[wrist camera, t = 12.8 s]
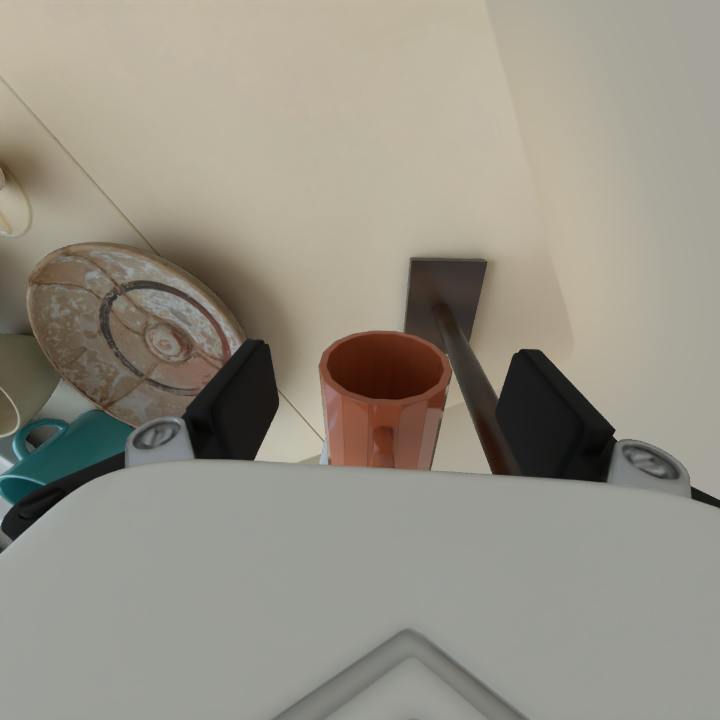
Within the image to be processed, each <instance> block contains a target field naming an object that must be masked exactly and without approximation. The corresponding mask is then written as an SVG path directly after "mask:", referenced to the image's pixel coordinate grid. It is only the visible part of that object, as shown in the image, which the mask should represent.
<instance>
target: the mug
mask: <svg viewBox="0 0 720 720" xmlns="http://www.w3.org/2000/svg"><path fill="white" fill-rule="evenodd" d="M319 375H320V385H321V395H322V406H323V416H324V426H325V436H326V446H327V456H328V465H343V466H361V467H378V468H395V469H412V470H429V471H431V467H432V462H433V458H434V453H435V449H436V444H437V440H438V435H439V430H440V426H441V421H442V417H443V412H444V407H445V403H446V398H447V394H448V389H449V384H450V380H451V375H452V369H451V366H450V363H449V360H448V357H447V356H446V355H445V354H444V353H443V352H442V351H441V350H440V349H439V348H438V347H437V346H435V345H434V344H432V343H430V342H428V341H426V340H424V339H422V338H420V337H418V336H415V335H410V334H406V333H401V332H397V331H368V332H362V333H355V334H352V335H349V336H347V337H344V338H342V339H340V340H337V341H335V342H334V343H333V344H332V345H331V346H330V347H328V348H327V349H326V350H325V351H324V352H323V354H322V357H321V360H320V364H319Z"/></svg>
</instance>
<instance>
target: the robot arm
mask: <svg viewBox="0 0 720 720" xmlns="http://www.w3.org/2000/svg"><path fill="white" fill-rule="evenodd" d="M278 406H279V397H278V392H277V386H276V381H275V375H274V370H273V364H272V359H271V353H270V348H269V345H268V344H265V343H264V341H263V340H251V339H247V340H245V342H244V343H243V344H242V345H241V346H240V347H239V348H238V349H237V351H236V352H235V353H234V354H233V355H232V356H231V357H230V359H229V360H228V361H227V362H226V363H225V364H224V365H223V367H222V368H221V369H220V370H219V371H218V372H217V373H216V375H215V376H214V377H213V378H212V379H211V380H210V381H209V383H208V384H207V385H206V386H205V387H204V388H203V389H202V390H201V392H200V393H199V394H198V395H197V396H196V397H195V398H194V400H193V401H192V402H191V403H190V404H189V405H188V406H187V408H186V412H185V413H184V414H183V416H182V417H181V418H180V417H177V416H164V417H160V418H156V419H153V420H151V421H148V422H146V423H144V424H143V425H141V426H139V427H138V428H137V429H135V430H134V431H133V432H132V433H131V434H130V435H129V437H128V438H127V440H126V444H125V451H124V452H121V453H119V454H117V455H114V456H112V457H110V458H107V459H105V460H102V461H100V462H98V463H95V464H93V465H91V466H88V467H86V468H84V469H81V470H79V471H77V472H74V473H72V474H70V475H67V476H65V477H63V478H60V479H58V480H56V481H53V482H51V483H49V484H46V485H44V486H42V487H40V488H38V489H36V490H34V491H32V492H31V493H29V494H28V495H26V496H25V497H23V498H22V499H21V500H20V501H18V502H17V503H16V504H15V505H14V506H13V507H12V508H11V509H10V510H9V511H8V513H7V514H6V515H5V516H4V518H3V521H2V523H1V526H0V720H720V500H718V499H716V498H714V497H712V496H710V495H708V494H706V493H703V492H702V491H700V490H698V489H696V488H693V487H691V486H690V477H689V474H688V472H687V470H686V468H685V467H684V466H683V465H682V464H681V463H680V462H679V461H678V460H677V459H676V458H674V457H673V456H672V455H670V454H668V453H667V452H665V451H663V450H662V449H660V448H657V447H656V446H653V445H651V444H648V443H645V442H642V441H638V440H632V439H624V440H620V441H617V440H616V439H615V438H614V437H613V436H612V435H613V434H614V432H615V429H614V428H613V427H612V426H611V425H610V423H609V422H608V421H607V420H606V419H604V417H603V416H602V415H601V414H600V413H599V412H598V411H597V410H596V409H595V408H594V407H593V406H592V404H590V402H589V401H588V400H587V399H586V398H585V397H584V396H583V395H582V394H581V393H580V392H579V391H578V390H577V389H576V387H574V385H573V384H572V383H571V382H570V381H569V380H568V379H567V378H566V377H565V376H564V375H563V374H562V373H561V372H560V371H559V370H558V368H557V367H556V366H555V365H554V364H553V363H552V362H551V361H550V360H549V359H548V358H547V357H546V356H545V355H544V354H543V353H542V351H540V350H535V349H521V350H520V351H519V352H518V353H515V354H514V355H513V357H512V360H511V363H510V366H509V370H508V373H507V376H506V379H505V382H504V385H503V388H502V392H501V394H500V398H499V401H498V404H497V407H496V410H495V417H496V420H497V422H498V425H499V427H500V429H501V431H502V433H503V435H504V437H505V439H506V441H507V443H508V445H509V447H510V450H511V452H512V454H513V456H514V458H515V460H516V462H517V464H518V466H519V468H520V470H521V473H522V475H523V476H508V475H492V474H491V475H490V474H476V473H461V472H445V471H444V472H443V471H429V470H412V469H395V468H378V467H361V466H343V465H324V464H305V463H287V462H268V461H254V459H255V457H256V455H257V452H258V450H259V448H260V446H261V444H262V442H263V440H264V437H265V435H266V433H267V431H268V429H269V427H270V425H271V422H272V420H273V418H274V416H275V414H276V412H277V410H278Z"/></svg>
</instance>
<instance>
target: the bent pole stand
mask: <svg viewBox="0 0 720 720" xmlns="http://www.w3.org/2000/svg"><path fill="white" fill-rule="evenodd" d="M486 265H487V262H486V261H485V260H484V259H446V258H410V267H409V278H408V289H407V300H406V311H405V322H404V333H406V334H410V335H415V336H418V337H420V338H422V339H424V340H426V341H428V342H430V343H432V344H434V345H435V346H437V347H438V348H439V349H440V350H441V351H442V352H443V353H444V354H447V355H448V357H449V360H450V363H451V365H452V368H453V370H454V373H455V376H456V378H457V381H458V384H459V386H460V389H461V392H462V394H463V397H464V400H465V402H466V405H467V408H468V410H469V413H470V416H471V418H472V420H473V424H474V426H475V429H476V431H477V434H478V436H479V439H480V442H481V445H482V447H483V450H484V453H485V455H486V458H487V461H488V463H489V466H490V468H491V471H492V474H493V475H508V476H523V475H522V473H521V470H520V468H519V466H518V464H517V462H516V460H515V458H514V456H513V454H512V452H511V450H510V447H509V445H508V443H507V441H506V439H505V437H504V435H503V433H502V431H501V429H500V427H499V425H498V422H497V420H496V417H495V410H496V407H497V404H498V401H499V399H498V397H497V395H496V393H495V391H494V390H493V388H492V386H491V384H490V382H489V380H488V378H487V376H486V375H485V373H484V371H483V369H482V367H481V365H480V363H479V362H478V360H477V358H476V356H475V354H474V352H473V350H472V349H471V347H470V345H469V341H470V337H471V332H472V328H473V323H474V319H475V314H476V310H477V305H478V301H479V297H480V292H481V288H482V283H483V279H484V274H485V270H486Z"/></svg>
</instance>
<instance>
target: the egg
mask: <svg viewBox="0 0 720 720" xmlns="http://www.w3.org/2000/svg"><path fill="white" fill-rule="evenodd" d="M4 184H5V176H4V173H3V171H2V169H1V168H0V191H1V190H2V189H3V186H4Z"/></svg>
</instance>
